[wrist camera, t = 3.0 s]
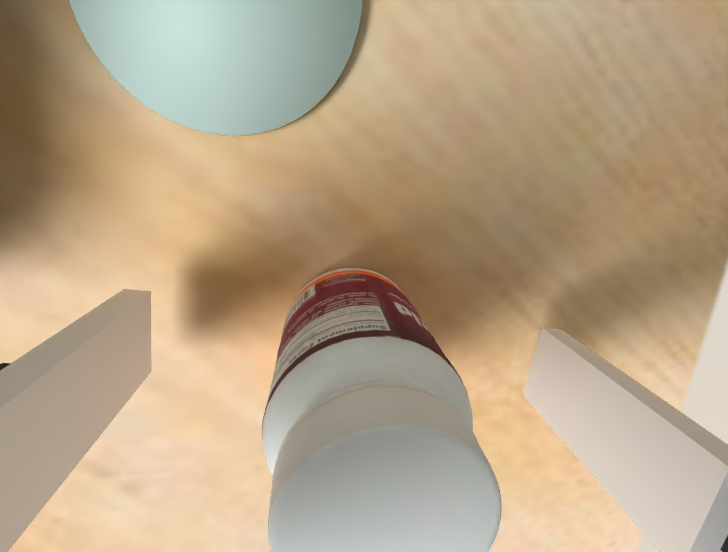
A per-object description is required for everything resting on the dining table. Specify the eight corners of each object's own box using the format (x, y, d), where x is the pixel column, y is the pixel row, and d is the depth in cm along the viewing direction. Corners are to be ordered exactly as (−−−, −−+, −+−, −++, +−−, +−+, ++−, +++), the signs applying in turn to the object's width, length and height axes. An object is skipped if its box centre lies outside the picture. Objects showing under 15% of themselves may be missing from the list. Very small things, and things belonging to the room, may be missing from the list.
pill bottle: (428, 355, 15) (550, 573, 7) (314, 398, 15) (310, 665, 7) (389, 244, 14) (490, 364, 6) (263, 291, 14) (187, 478, 6)
